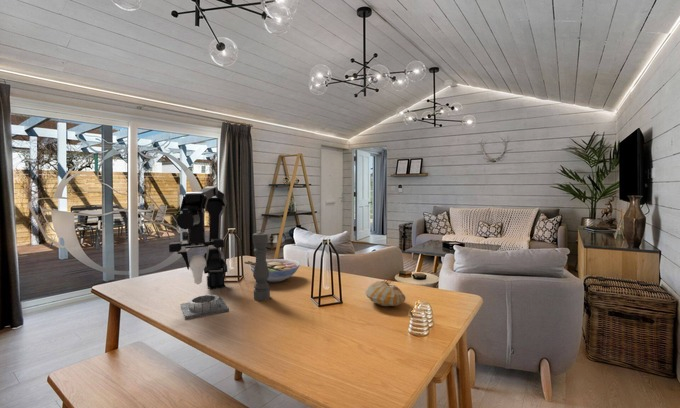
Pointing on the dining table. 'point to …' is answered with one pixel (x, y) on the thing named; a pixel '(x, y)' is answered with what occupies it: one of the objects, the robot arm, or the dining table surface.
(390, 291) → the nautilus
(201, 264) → the lightbulb
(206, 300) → the bulb socket
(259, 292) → the candle holder
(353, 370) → the dining table surface
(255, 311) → the dining table surface
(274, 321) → the dining table surface
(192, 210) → the robot arm
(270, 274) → the ramen bowl
